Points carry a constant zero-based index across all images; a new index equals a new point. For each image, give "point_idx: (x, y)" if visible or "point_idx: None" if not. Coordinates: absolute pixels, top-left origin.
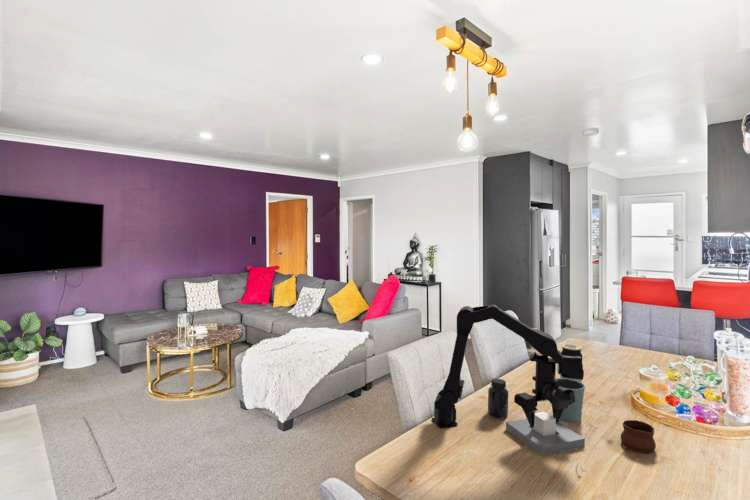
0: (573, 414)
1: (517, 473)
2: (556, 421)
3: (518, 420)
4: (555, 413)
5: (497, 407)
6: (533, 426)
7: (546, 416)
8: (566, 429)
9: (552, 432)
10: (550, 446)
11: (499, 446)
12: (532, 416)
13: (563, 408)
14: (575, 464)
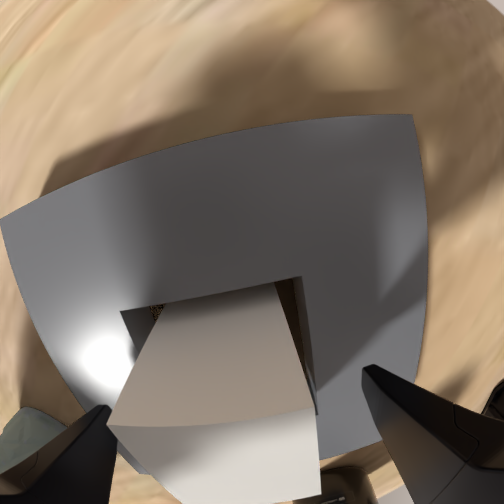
0: (25, 433)
1: (494, 61)
2: (103, 416)
3: (328, 454)
4: (91, 472)
5: (365, 499)
6: (369, 370)
7: (206, 471)
8: (61, 351)
9: (180, 327)
10: (321, 119)
11: (495, 258)
12: (465, 421)
13: (5, 477)
14: (202, 14)
